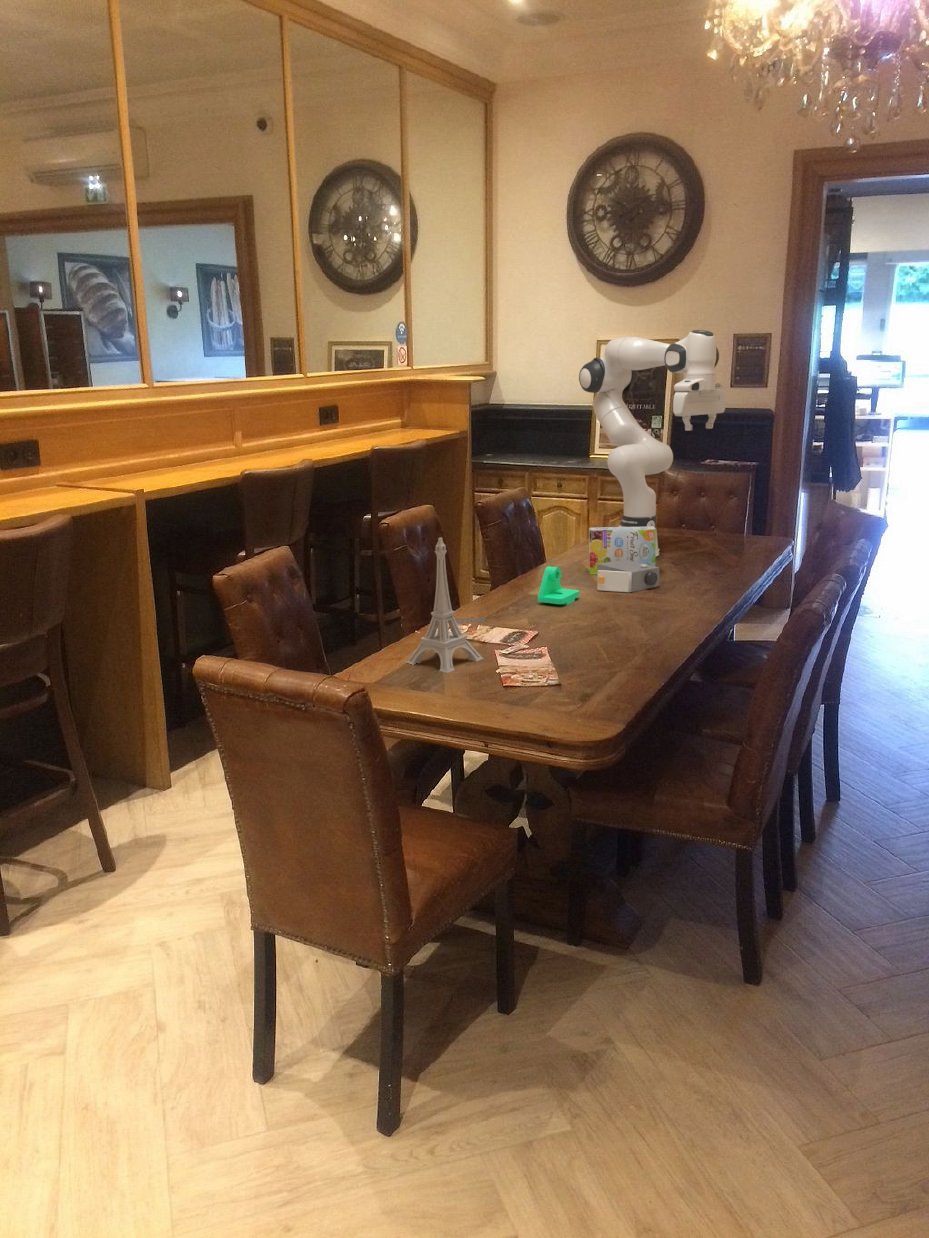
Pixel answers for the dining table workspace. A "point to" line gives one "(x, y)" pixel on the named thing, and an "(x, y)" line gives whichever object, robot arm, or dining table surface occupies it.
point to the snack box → (621, 545)
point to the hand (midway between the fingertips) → (699, 429)
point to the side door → (614, 581)
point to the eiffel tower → (443, 623)
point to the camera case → (634, 573)
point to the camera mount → (555, 588)
